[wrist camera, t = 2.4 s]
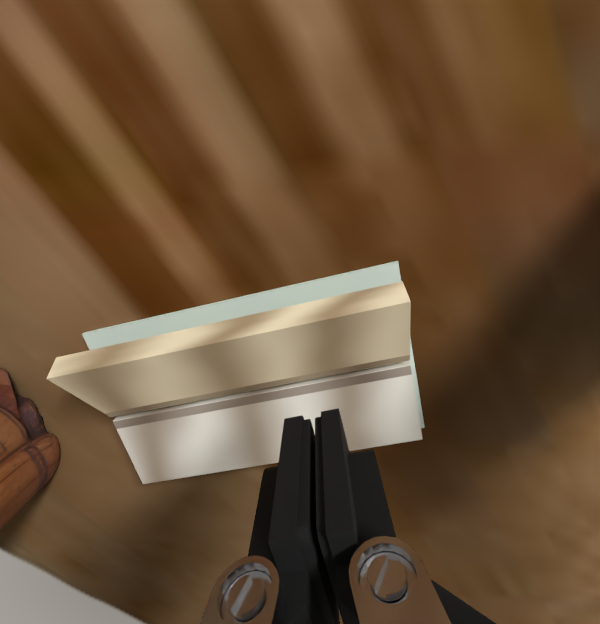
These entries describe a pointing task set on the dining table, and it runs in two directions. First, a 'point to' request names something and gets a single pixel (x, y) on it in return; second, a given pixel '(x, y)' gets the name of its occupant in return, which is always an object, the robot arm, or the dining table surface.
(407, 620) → the robot arm
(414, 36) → the dining table surface
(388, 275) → the underlay
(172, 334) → the plank
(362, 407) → the laid board
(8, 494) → the wooden figurine
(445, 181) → the dining table surface
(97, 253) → the dining table surface
